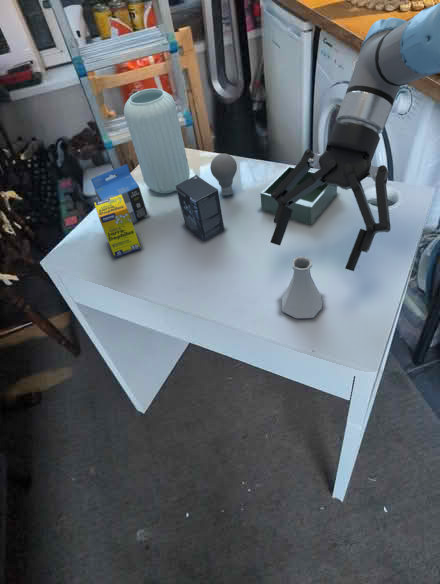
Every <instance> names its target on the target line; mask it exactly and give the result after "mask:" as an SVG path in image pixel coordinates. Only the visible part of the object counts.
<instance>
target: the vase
mask: <svg viewBox="0 0 440 584" xmlns="http://www.w3.org/2000/svg"><path fill="white" fill-rule="evenodd" d="M177 109H178V108H177V105H176V101H175V99H174V97H173V96H172V95H171V93H169V92H168V91H165V90H163V89H161V88H154V87H153V88H145V89H142V90H139V91H136V92H135V93H132V95H130V97H129V98H128V99H127V100H126V102H125V104H124V107H123V114H124V118H125V122H126V126H127V128H128V132H129V134H130V138H131V142H132V145H133V149H134V152H135V155H136V158H137V161H138V165H139V169H140V172H141V175H142V178H143V182H144V183H145V185H146V187H147V188H148V189H150V190H151V191H152V192H156V193H160V194H169V193H173V192H177V190H176V185H178V184H180V183H182V182H184V181H186V180H188V179H190V175H191V174H190V167H189V161H188V157H187V153H186V147H185V143H184V139H183V138H184V137H183V133H182V129H181V124H180V119H179V113H178V110H177Z"/></svg>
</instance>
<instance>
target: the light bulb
mask: <svg viewBox="0 0 440 584" xmlns="http://www.w3.org/2000/svg"><path fill="white" fill-rule="evenodd" d="M237 171H238V164H237V161H236V159H235V158H234V157H233V156H232V155H231V154H228V153H219V154H217V155H216V156H214V157H213V159H212V160H211V163H210V173H211V175H212V176H213V177H214V179H215V180H216V181H217V182H218V185H219V186H220V191H221V194H222V195H223V196H229V195H232V193H233V183H234V182H233V181H234V178H235V175H236V174H237Z"/></svg>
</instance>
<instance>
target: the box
mask: <svg viewBox="0 0 440 584" xmlns="http://www.w3.org/2000/svg"><path fill="white" fill-rule="evenodd" d="M176 193H177V198H178V201H179V206H180V209H181V215H182V218H183V223H184V225H185V226H186V227H187V228H188V229H189V230H190V231H191V232H193V233H194V234H195V235H196V236H198V237H199V239H201V240H202V241H203V242H206V241H208V240H209V239H211V238H213V237H214V236H216V235H219V234H220V233H221V232H223V231H224V230H225V224H224V218H223V212H222V207H221V199H220V193H219V189H218V188H217V187H215V186H214V185H212V184H210V183H209V182H207V181H206V180H204V179H203V178H202V177H200V176H199V175H197V174H196V175H194V176H192V177H189V178H188V180H186V181H184V182H182V183H180V184H178V185H176Z"/></svg>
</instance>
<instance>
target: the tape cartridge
mask: <svg viewBox="0 0 440 584" xmlns="http://www.w3.org/2000/svg"><path fill="white" fill-rule="evenodd" d="M115 175H116V176H115ZM110 176H115V177H112V178H110ZM108 178H110V179H108ZM107 179H108V180H107ZM90 181H91V184H92V186H93V188H94V193H95V195H96V197H97V201H98V202H99V201H102V200H106V199H109V198H112V197H115V196H118V195H120V194H121V195H122V197H123V199H124V202H125V204H126V207H127V209H128V212H129V215H130V218H131V221H132V223H133V224H135V223H137V222H140V221H142V220H144V219H146V218H149V215H148V211H147V208H146V204H145V201H144V198H143V194H142V191H141V188H140V186H139V184H138V183H137V182H136V180H135V178H134V177H133V175H132V173H131V172H130V169H129V165H128V163H126V164H123V165H121V166H119V167H116V168H114V169H111V170H109V171H106V172H104V173H102V174H99V175H96V176H95V177H92V178H90Z"/></svg>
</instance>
